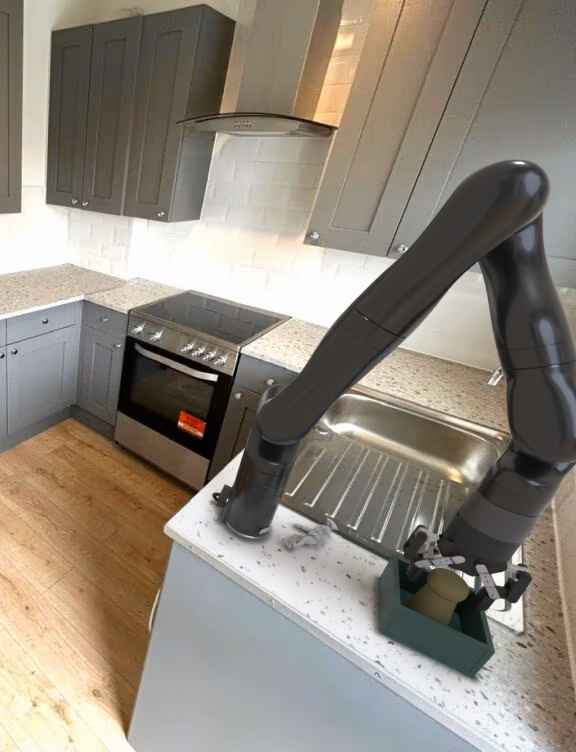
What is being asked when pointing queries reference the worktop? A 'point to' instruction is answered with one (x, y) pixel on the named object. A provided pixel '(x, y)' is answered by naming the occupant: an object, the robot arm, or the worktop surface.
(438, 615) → the cork
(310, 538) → the soldier figure
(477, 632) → the tote
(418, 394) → the worktop surface
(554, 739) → the worktop surface
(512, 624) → the worktop surface
